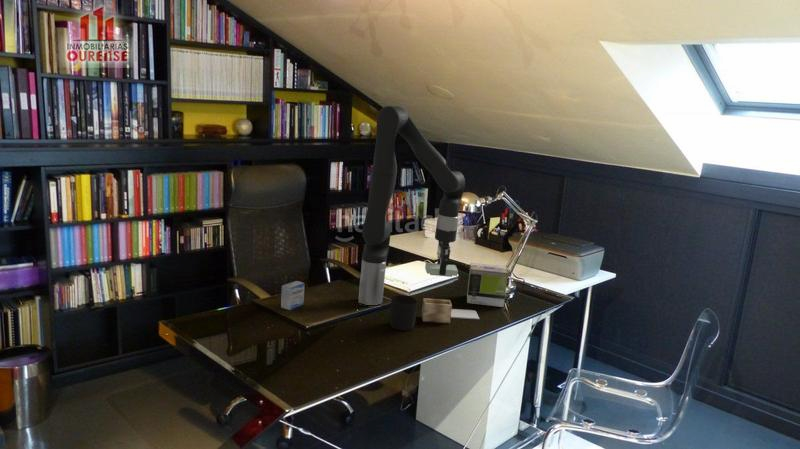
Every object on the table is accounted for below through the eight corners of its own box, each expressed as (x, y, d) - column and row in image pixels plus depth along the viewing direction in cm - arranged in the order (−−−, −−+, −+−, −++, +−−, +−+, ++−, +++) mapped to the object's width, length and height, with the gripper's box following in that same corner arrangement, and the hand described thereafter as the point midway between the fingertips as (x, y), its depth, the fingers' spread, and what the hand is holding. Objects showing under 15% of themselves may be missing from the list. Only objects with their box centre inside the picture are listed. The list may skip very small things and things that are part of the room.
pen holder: (419, 325, 216) (422, 299, 214) (408, 333, 208) (411, 306, 206) (395, 318, 220) (398, 293, 218) (384, 327, 212) (386, 300, 209)
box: (422, 321, 220) (424, 303, 218) (421, 316, 225) (423, 298, 223) (449, 323, 221) (452, 305, 219) (448, 317, 226) (450, 300, 224)
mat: (447, 317, 226) (447, 316, 226) (445, 309, 234) (445, 308, 234) (479, 319, 227) (479, 318, 227) (475, 311, 235) (475, 310, 235)
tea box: (502, 299, 251) (507, 265, 248) (503, 308, 242) (508, 273, 238) (466, 295, 252) (470, 261, 249) (466, 303, 243) (470, 268, 239)
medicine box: (289, 310, 218) (291, 288, 216) (280, 307, 220) (281, 285, 218) (303, 304, 225) (305, 282, 223) (294, 301, 227) (295, 280, 225)
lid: (426, 276, 215) (427, 268, 215) (424, 270, 221) (425, 262, 221) (456, 278, 216) (458, 270, 215) (454, 272, 222) (455, 265, 222)
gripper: (433, 221, 221) (428, 264, 225) (438, 231, 207) (432, 277, 211) (454, 223, 222) (448, 266, 226) (460, 233, 208) (454, 279, 212)
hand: (440, 271), depth 219 cm, fingers closed on lid, 6 cm apart
